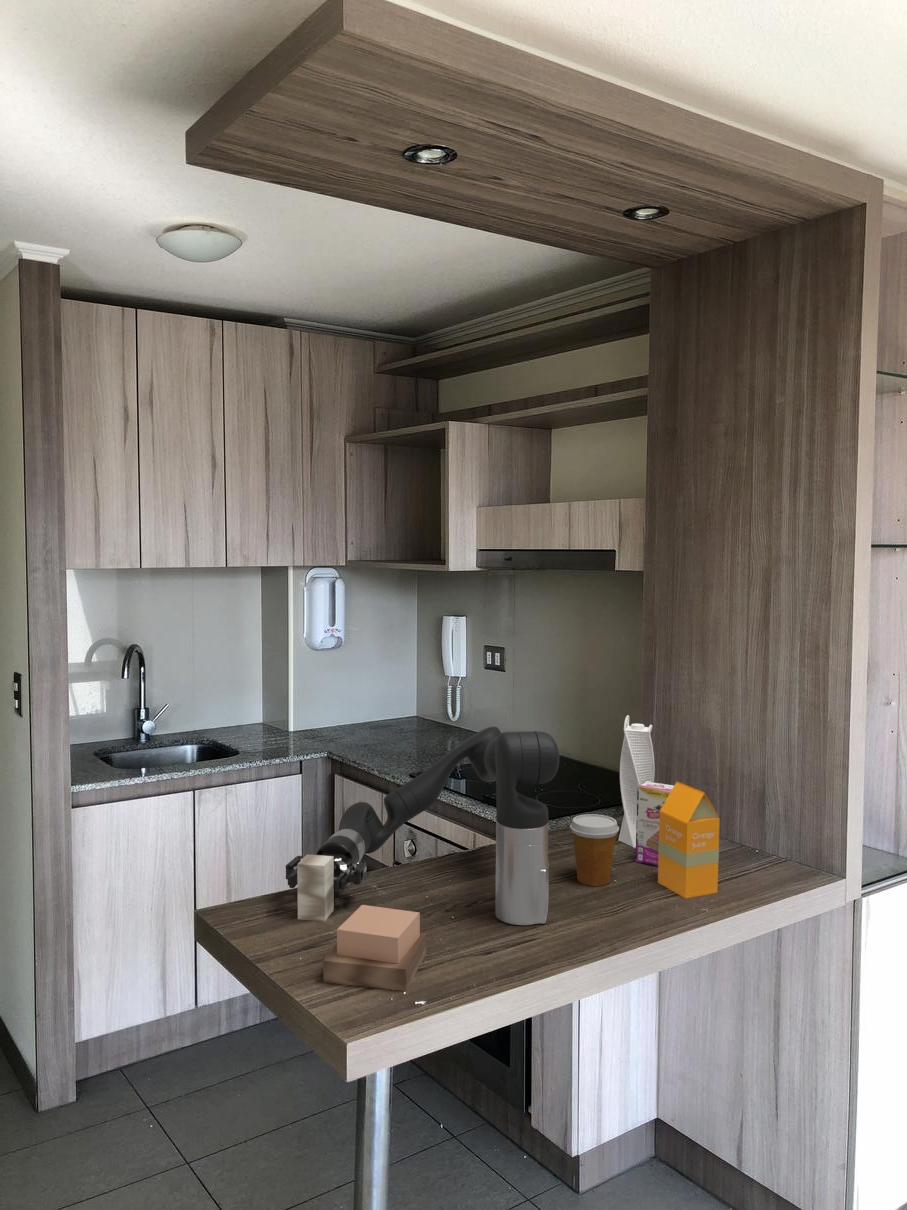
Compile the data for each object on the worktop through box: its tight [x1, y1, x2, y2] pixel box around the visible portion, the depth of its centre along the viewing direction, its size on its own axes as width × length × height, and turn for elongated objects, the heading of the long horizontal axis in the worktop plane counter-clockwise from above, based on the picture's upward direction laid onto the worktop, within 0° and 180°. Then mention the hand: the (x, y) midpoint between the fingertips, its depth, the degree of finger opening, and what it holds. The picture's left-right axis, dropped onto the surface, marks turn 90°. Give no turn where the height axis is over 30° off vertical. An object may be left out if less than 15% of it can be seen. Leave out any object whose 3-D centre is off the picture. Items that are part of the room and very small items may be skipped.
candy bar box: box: [634, 781, 674, 867], centre depth 195 cm, size 11×5×16 cm, turn 58°
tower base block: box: [322, 932, 427, 992], centre depth 149 cm, size 13×13×4 cm
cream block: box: [297, 854, 335, 922], centre depth 169 cm, size 5×5×10 cm
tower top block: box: [336, 904, 421, 964], centre depth 149 cm, size 10×10×4 cm
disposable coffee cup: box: [569, 813, 620, 887], centre depth 186 cm, size 10×10×12 cm
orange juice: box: [657, 780, 721, 899], centre depth 183 cm, size 8×9×20 cm
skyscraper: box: [617, 714, 656, 849], centre depth 209 cm, size 8×8×28 cm
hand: (313, 884), depth 168 cm, fingers open, 8 cm apart
